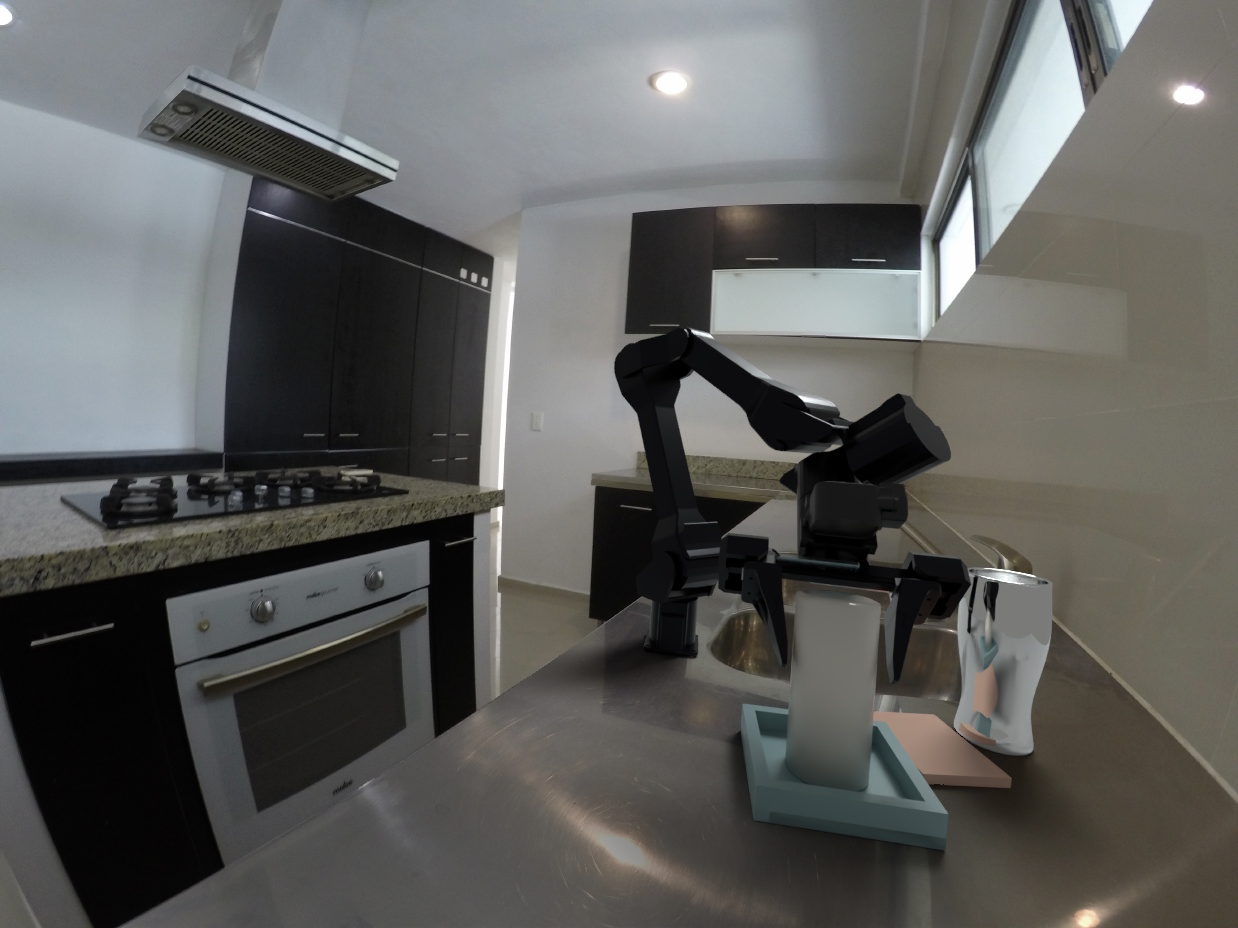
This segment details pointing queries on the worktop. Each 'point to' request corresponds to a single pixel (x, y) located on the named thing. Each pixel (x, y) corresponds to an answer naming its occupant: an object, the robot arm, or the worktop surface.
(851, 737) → the frosted white cylinder
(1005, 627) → the beer glass
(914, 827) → the tray
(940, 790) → the worktop surface
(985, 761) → the plate
